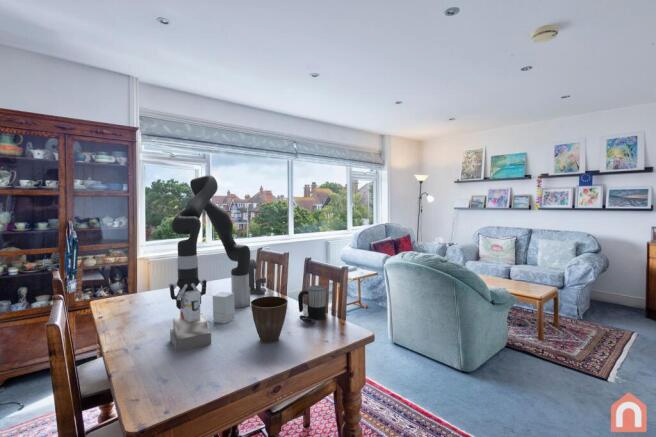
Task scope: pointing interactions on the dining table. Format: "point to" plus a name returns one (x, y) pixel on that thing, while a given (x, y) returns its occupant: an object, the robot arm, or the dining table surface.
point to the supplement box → (223, 307)
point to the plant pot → (269, 317)
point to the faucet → (258, 282)
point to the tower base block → (189, 341)
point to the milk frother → (313, 303)
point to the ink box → (190, 306)
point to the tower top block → (189, 327)
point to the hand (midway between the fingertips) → (188, 307)
